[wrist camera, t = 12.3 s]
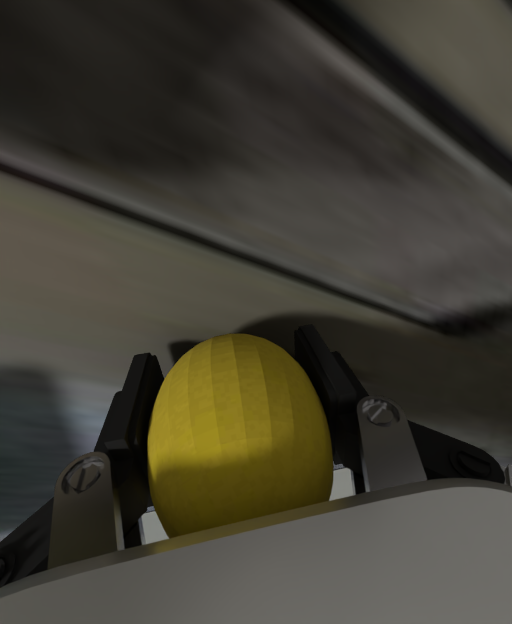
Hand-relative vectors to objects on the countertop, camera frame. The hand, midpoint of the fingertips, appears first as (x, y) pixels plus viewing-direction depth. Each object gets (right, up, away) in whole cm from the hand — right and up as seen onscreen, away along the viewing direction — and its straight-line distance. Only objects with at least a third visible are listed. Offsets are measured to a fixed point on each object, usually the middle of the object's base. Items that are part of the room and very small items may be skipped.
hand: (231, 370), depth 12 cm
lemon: (0, +1, +1) cm, 1 cm away
